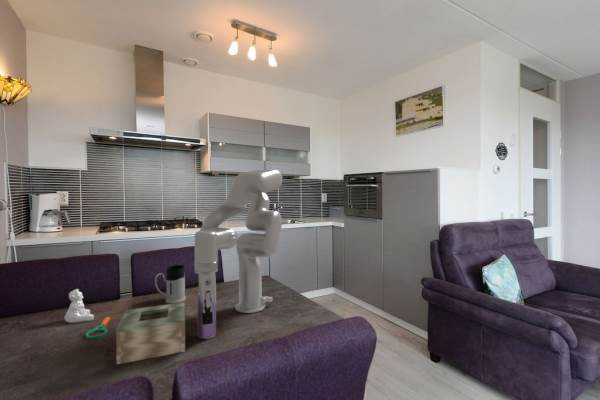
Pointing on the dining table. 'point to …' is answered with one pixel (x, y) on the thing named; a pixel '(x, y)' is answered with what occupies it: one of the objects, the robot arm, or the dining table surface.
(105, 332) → the magnifying glass
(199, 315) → the beverage can
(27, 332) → the dining table surface
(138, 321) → the tissue box
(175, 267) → the white pitcher
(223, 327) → the dining table surface
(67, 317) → the white creature statuette
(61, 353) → the dining table surface
